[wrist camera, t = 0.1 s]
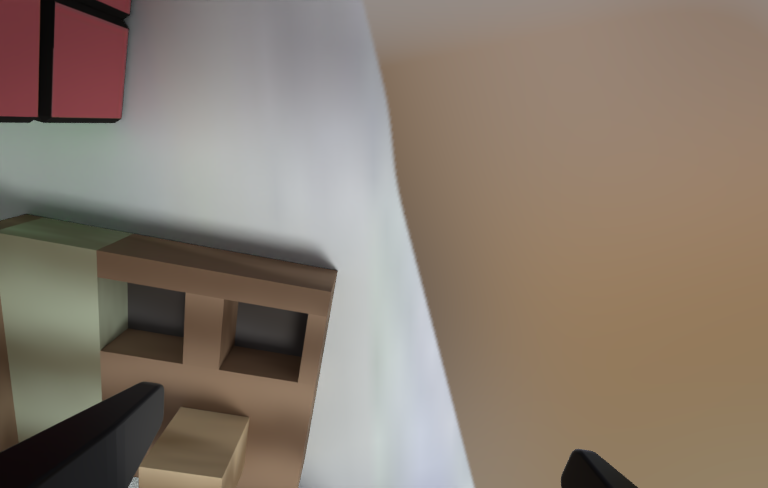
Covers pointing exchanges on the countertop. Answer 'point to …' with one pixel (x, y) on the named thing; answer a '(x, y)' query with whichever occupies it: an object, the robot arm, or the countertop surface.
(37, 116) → the puzzle cube
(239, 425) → the maple block
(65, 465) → the robot arm
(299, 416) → the trap box
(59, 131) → the countertop surface
